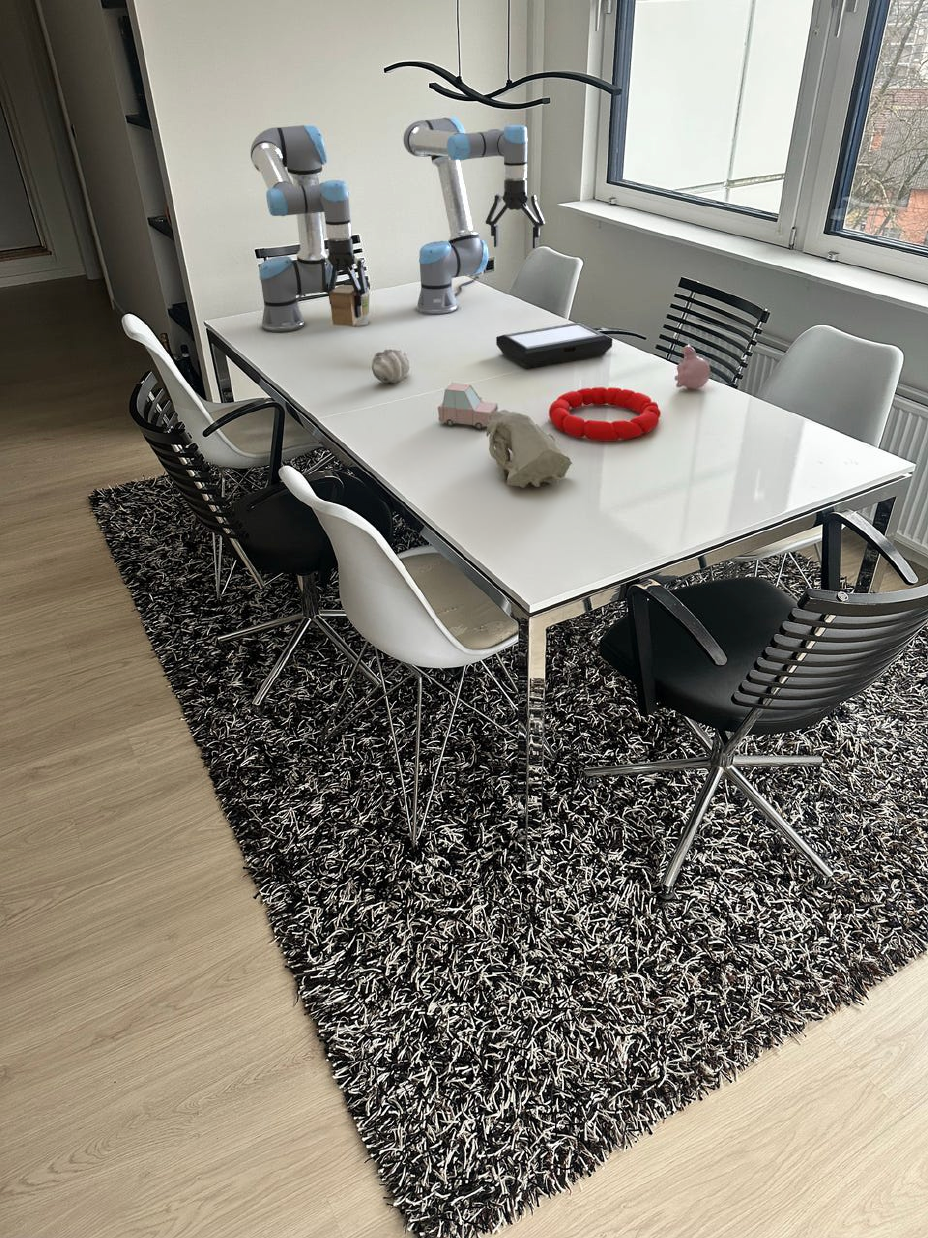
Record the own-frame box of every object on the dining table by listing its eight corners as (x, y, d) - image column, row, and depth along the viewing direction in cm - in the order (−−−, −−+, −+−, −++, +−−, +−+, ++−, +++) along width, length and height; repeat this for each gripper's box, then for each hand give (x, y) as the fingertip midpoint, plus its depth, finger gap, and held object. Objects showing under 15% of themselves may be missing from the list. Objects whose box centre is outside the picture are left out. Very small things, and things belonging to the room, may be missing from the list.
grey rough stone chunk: (496, 517, 219) (521, 479, 201) (463, 429, 225) (484, 384, 207) (557, 503, 225) (586, 465, 206) (523, 417, 231) (549, 373, 212)
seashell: (364, 381, 275) (361, 349, 270) (407, 372, 281) (405, 341, 275) (377, 391, 268) (374, 358, 262) (421, 382, 273) (420, 349, 268)
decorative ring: (589, 435, 224) (684, 402, 234) (527, 398, 247) (617, 369, 256) (589, 461, 229) (683, 427, 238) (529, 422, 251) (617, 393, 260)
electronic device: (524, 351, 275) (496, 334, 291) (524, 371, 279) (496, 353, 294) (612, 335, 286) (581, 320, 301) (611, 355, 289) (580, 338, 304)
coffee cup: (372, 326, 323) (368, 283, 314) (345, 327, 323) (340, 284, 315) (374, 318, 331) (371, 276, 322) (348, 319, 331) (344, 277, 323)
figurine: (665, 387, 264) (669, 347, 257) (693, 380, 268) (698, 340, 261) (686, 396, 257) (690, 355, 250) (714, 388, 262) (720, 348, 255)
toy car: (488, 432, 240) (488, 396, 234) (436, 426, 244) (434, 390, 239) (499, 419, 247) (499, 384, 241) (448, 413, 252) (447, 379, 246)
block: (353, 325, 277) (349, 293, 271) (332, 324, 278) (329, 292, 273) (362, 317, 284) (360, 285, 278) (343, 316, 285) (339, 284, 280)
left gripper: (374, 236, 268) (381, 313, 281) (314, 234, 272) (322, 311, 285) (366, 241, 262) (372, 320, 275) (304, 239, 266) (313, 317, 279)
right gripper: (554, 177, 294) (552, 245, 306) (481, 176, 300) (482, 243, 312) (550, 180, 288) (548, 250, 300) (476, 179, 294) (477, 247, 306)
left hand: (347, 315), depth 280 cm, fingers closed on block, 7 cm apart
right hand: (515, 246), depth 306 cm, fingers open, 13 cm apart
